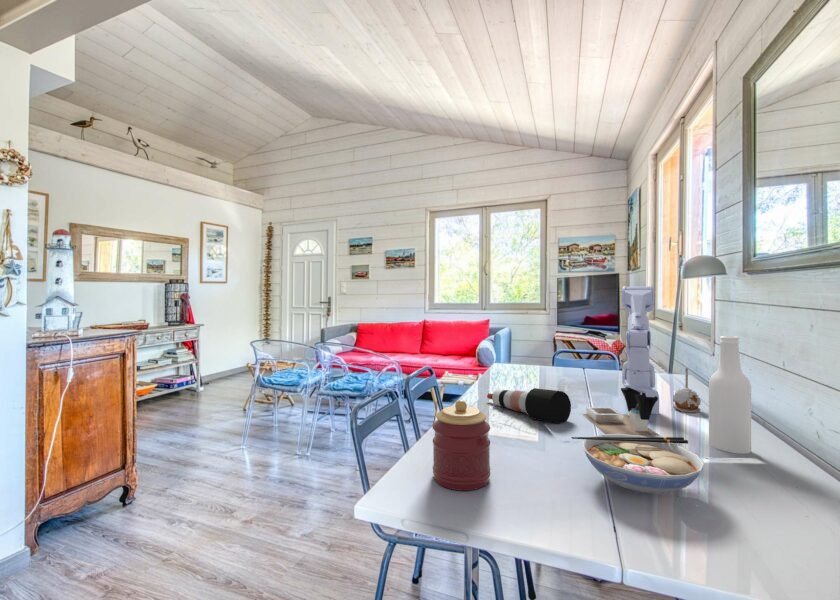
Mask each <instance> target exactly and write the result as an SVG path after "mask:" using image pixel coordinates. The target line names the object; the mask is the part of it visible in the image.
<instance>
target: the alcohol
mask: <svg viewBox="0 0 840 600" xmlns="http://www.w3.org/2000/svg"><path fill="white" fill-rule="evenodd" d="M719 340H720V341H719V343H720V345H719V347H720V348H719V358H718V367H717V370H715V372H714V373H713V374H711V376H710V377H709V380H708V445H709V446H710V447H712V448H714V449H716V450H720V451H724V452H728V453H733V454H749V453H752V386H751V382H750V379H748V377H747V376H746V375H745V374H744V373H743V370H742V367H741V358H740V349H739V348H740V347H739V344H740V341H739V340H740V337H739V336H737V335H735V336H734V335H721V336H719Z"/></svg>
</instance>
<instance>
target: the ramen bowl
mask: <svg viewBox="0 0 840 600" xmlns="http://www.w3.org/2000/svg"><path fill="white" fill-rule="evenodd" d="M571 440H583V441H582V450H583V452H584V454H585V456H586V457H587V459H588V460H589V463H590V464H591V465H592V466H593V468H594V469H595V470H596V471H597V472H599V474H601V475H602V476H603V477H604V478H606V479H607V480H608V481H610V482H612V483H614V484H616V485H618V486H620V487H621V488H624V489H627V490H629V491H632V492H634V493H638V494H644V495H654V494H655V495H657V494H659V495H660V494H670V493H674V492H677V491H680V490H682V489H685V488H687V487H688V486H690V485H691V484H692V483H694V481H695V480H696V479H697V478H698V477H699V475H700V474H701V472H702V471H703V468H704V465H705V462H704V461H703V460H702V459H701V457H700V456H699V455H698V454H697V453H695V452H693V451H692V450H689V449H687V448H685V447H684V446H681V445H678V444H685V445H686V444H689V440H688V439H685V438H684V437H683V436H679V437H678V436H676V437H675V436H672V437H671V436H670V437H668V436H666V437H662V436H661V437H660V436H654V437H653V436H645V435H627V434H604V433H603V434H598V435H593V436H589V437H588V436H586V437H585V436H584V437H582V436H581V437H580V436H573V437H572V436H571Z"/></svg>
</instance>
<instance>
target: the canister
mask: <svg viewBox="0 0 840 600" xmlns="http://www.w3.org/2000/svg"><path fill="white" fill-rule="evenodd" d="M435 418H436V419H437V420H435V421H434V422H433V424H432V429H433V431H434V436H433V438H432V446H433V460H432V461H433V463H432V474H433V479H434V480H435V482H436V483H437V484H439V486H441V487H444V488H446V489H450V490H453V491H454V490H455V491H472V490H473V491H474V490H479V489H481V488H483V487H485V486H486V485H488V484H489V482H490V478H491V477H490V476H491V470H492V468H491V463H490V460H491V459H490V453H491V452H490V450H491V449H490V446H491V440H490V439H489V432H490V430H491V426H490V424H489V423H488V422H487V421H486V419H487V414H485V413H484V412H483V411H482V410H480V409H479V408H477V407H475V406H471V405H468V404H467V402H466V401H465V400H464V399H458V400H456V402H455V405H449V406H446V407H443V409H442V410H439V411H438V412H437V413H435Z"/></svg>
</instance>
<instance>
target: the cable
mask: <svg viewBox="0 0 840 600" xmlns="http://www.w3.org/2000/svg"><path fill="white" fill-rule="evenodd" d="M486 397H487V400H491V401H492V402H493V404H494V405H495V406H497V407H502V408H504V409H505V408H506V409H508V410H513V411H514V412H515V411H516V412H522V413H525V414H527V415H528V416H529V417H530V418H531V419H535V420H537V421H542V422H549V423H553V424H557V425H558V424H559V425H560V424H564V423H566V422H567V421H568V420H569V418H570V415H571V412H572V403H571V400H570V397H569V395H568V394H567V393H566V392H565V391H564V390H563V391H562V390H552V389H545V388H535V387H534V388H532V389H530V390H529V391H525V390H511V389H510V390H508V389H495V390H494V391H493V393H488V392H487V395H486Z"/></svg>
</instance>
